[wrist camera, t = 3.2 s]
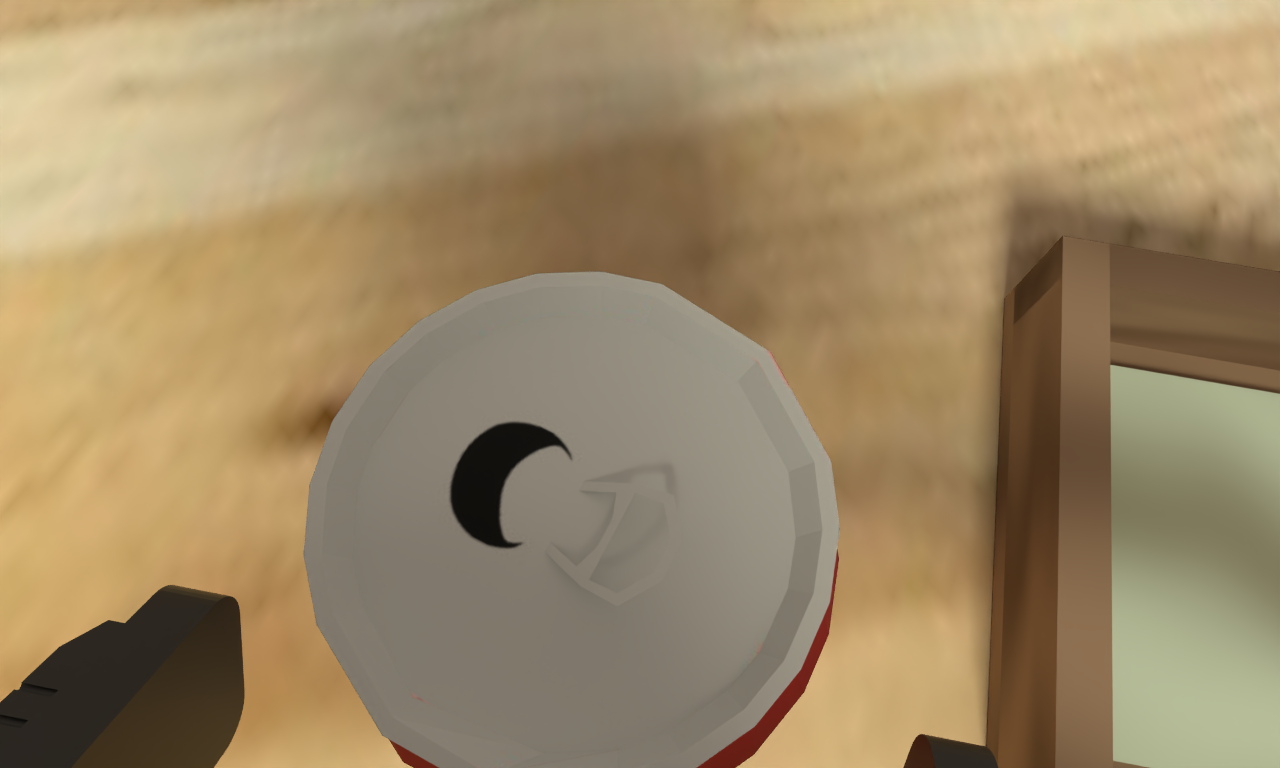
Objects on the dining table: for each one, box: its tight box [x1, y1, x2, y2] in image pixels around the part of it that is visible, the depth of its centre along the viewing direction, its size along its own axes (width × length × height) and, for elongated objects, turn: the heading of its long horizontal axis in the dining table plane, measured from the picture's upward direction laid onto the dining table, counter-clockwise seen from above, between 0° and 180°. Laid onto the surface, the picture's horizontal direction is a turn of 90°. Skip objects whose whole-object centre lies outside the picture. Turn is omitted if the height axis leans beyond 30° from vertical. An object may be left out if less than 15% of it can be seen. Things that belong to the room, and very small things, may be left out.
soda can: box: [304, 271, 840, 768], centre depth 13 cm, size 6×6×12 cm
